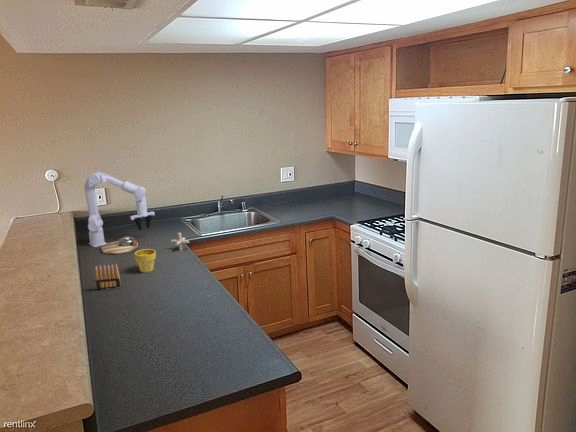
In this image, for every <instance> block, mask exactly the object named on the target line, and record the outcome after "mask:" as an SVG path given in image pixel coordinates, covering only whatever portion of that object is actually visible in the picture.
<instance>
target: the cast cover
mask: <svg viewBox="0 0 576 432" xmlns="http://www.w3.org/2000/svg"><path fill="white" fill-rule="evenodd" d="M133 240H136V239H135V237H134V236H127V235H126V236H123V237H120V238H118V240H117V241H119V246H131V245H133V244H132V241H133Z"/></svg>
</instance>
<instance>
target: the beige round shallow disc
mask: <svg viewBox="0 0 576 432" xmlns="http://www.w3.org/2000/svg"><path fill="white" fill-rule="evenodd" d="M132 244H133V245H131V246H119V241H118V240H116V241H112V242H107V244H105V245H102V246H101V247H100V248H101V252H102V253H103V254H106V255H121V254H126V253H130V252H133V251H135V250H136V249H137V248H138V247H139V243H138V241H137V240H136V239H135V240H133V241H132Z"/></svg>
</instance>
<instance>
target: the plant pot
mask: <svg viewBox="0 0 576 432" xmlns="http://www.w3.org/2000/svg"><path fill="white" fill-rule="evenodd" d="M156 258H157V252H156V250H155V249H153V248H152V249H151V248H145V249H144V248H143V249H139V250H137V251H135V252H134V259H135V261H136V262H137V266H138V269H139V272H141V273H150V272H153V271H154V268H155V262H156V261H155V260H156ZM152 270H153V271H152Z"/></svg>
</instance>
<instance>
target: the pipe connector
mask: <svg viewBox="0 0 576 432" xmlns="http://www.w3.org/2000/svg"><path fill="white" fill-rule="evenodd" d="M177 237H178V239H171V243H173V244H174V243H175V244H174V245H175V246H176V247H177V246H178V247H179V248H178V249H179V251H183V250H184V249H183V248H184V247H183V244H189V243H190V240H188V239H186V237H184V236H183V237H182V232H178V233H177Z"/></svg>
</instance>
